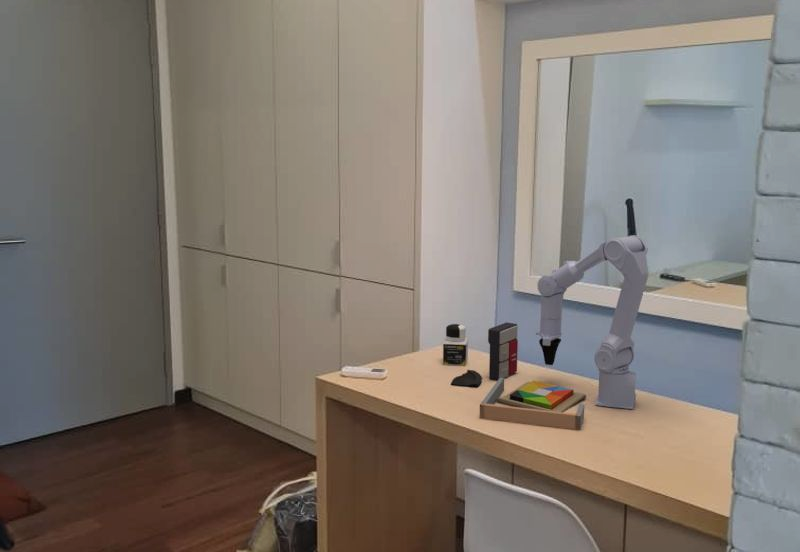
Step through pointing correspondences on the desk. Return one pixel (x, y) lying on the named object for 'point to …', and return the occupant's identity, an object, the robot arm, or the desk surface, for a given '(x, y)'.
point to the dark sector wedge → (468, 379)
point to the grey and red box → (503, 350)
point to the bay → (527, 412)
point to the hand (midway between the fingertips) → (549, 364)
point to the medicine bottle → (455, 346)
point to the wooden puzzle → (542, 397)
